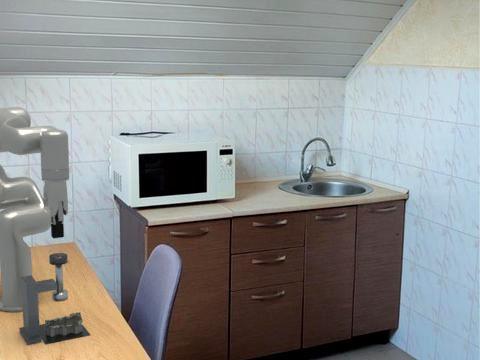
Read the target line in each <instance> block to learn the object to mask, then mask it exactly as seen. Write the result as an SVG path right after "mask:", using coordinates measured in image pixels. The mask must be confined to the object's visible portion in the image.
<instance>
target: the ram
mask: <svg viewBox="0 0 480 360" xmlns="http://www.w3.org/2000/svg"><path fill="white" fill-rule="evenodd" d="M48 261H49V264H50V265H52V266H54V268H55V269H54V270H55V271H54V273H55V282H56V283H57V290H53V291H52V292H51V295H52V296H51V298H52V299H51V300H52V302H53V301H54V302H55V303H56V302H58V303H59V302H64V301H67V300H69V290H67V289H64V272H63V271H64V270H63V265H66V264H67V263H68V261H69V260H68V254H67V253H65V252H57V253H56V252H55V253H52V254H49V256H48Z"/></svg>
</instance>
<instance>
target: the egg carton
mask: <svg viewBox="0 0 480 360" xmlns="http://www.w3.org/2000/svg"><path fill="white" fill-rule="evenodd" d="M44 324H45V326H46V335H49V336H51V337H54V336H55V335H57V334H62V335H67V334H68V333H74V334H78V333H80V332H82V325H83V319H82V313H81V312H80V311H78V312H72V313H70V314H69V315H65V316H62V317H55V318H53V319H45V321H44ZM83 326H84V325H83Z"/></svg>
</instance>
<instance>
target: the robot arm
mask: <svg viewBox="0 0 480 360" xmlns="http://www.w3.org/2000/svg"><path fill="white" fill-rule="evenodd" d="M31 123H32V121H31V116H30V114H29V112H28V111H27V110H26V109H25V108H24V107H20V106H14V107H13V106H12V107H10V106H9V107H0V153H7V152H8V153H11V154H12V155H18V156H24V155H25V156H27V155H33V154H39V153H40V169H41V170H40V175H41V181H42V182H43V190H42V191H43V195H42V193H41V190H40V189H39V186H38V185H37V183H36V182H35V181H34V179H32V178H31V177H28V176H15V177H9V176H8V175H7V173H6V171H5V169H4V167H3V165H1V164H0V283H1V284H0V285H1V297H2V298H0V310H1V311H2V312H3V311H4V312H9V313H10V312H11V313H12V312H15V313H16V312H23V307H22V290H21V277H24V276H31V275H32V277H33V278H34V275H33V262H32V261H33V259H32V250H31V247H30V246H29V244H28V243H26V242H25V240H24V238H25V237H29V236H33V235H38V234H43V233H45V232H47V231H48V230H50V236H51V238H53V239H61V238H64V236H65V229H64V227H65V225H64V223H65V222H64V219H65V218H64V216H67V215H68V213H69V202H68V201H69V200H68V198H69V197H68V185H67V181H69V180H70V158H69V157H70V155H69V154H70V153H69V134H68V133H67V131H66V130H64V129H58V128H56V127H55V126H52V125H38V126H37V125H36V126H31ZM39 303H40V298H39V297H38V304H39Z"/></svg>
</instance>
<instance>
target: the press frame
mask: <svg viewBox="0 0 480 360" xmlns="http://www.w3.org/2000/svg"><path fill="white" fill-rule="evenodd" d="M32 276H33V274H32V275H31V276H24V277H21V290H22V307H23V311H22V320H23V321H22V322H23V326H22V327H19V328H18V331H19V333H20V336H21V337H22V340H23V341H24V342H25V345H26V346H30V345H34V344H39V343H42V342H43V344H44V345H50V344H56V343H60V342H66V341H71V340H75V339H79V338H85V337H89V336H91V333H90V332H89V331H88V330H87V328H86V327H85V326H84V325H82V332H80V333H78V334H74V333H68V334H67V335H62V334H57V335H55V336H54V337H51V336H49V335H46V326H45V323H42V324H40V310H39V309H40V308H39V307H40V306H39V303H38V298H39V294H41V293H47V292H51V291H52V292H53V291H55V290H57V283H56V279H54V278H51V279H49V278H48V279H43V280H38V281H36V279H35V278H34V276H33V277H32Z"/></svg>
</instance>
